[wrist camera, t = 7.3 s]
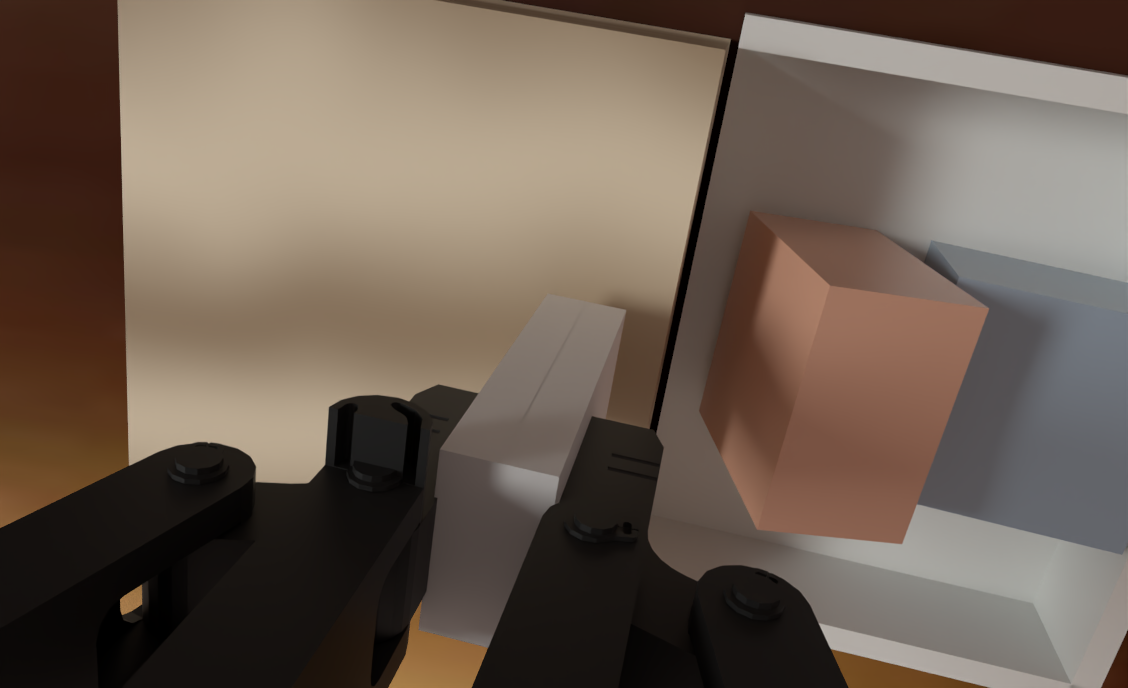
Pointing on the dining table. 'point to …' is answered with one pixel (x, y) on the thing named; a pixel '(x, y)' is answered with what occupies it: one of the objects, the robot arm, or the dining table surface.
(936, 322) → the terracotta tile
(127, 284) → the cream square tray
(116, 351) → the dining table surface
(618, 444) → the robot arm
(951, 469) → the slate tile
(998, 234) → the box
